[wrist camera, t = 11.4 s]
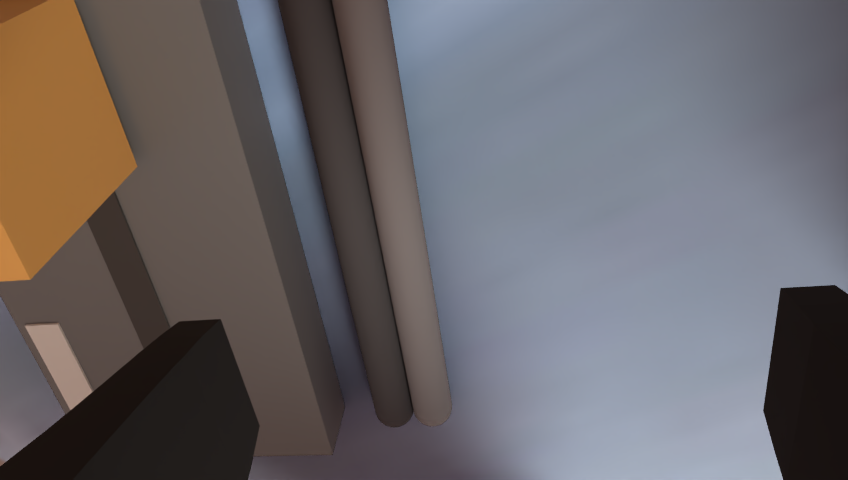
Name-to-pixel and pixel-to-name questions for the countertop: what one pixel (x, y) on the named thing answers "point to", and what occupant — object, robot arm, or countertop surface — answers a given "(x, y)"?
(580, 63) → the countertop surface
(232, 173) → the switch panel
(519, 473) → the countertop surface
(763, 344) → the countertop surface
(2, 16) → the knob
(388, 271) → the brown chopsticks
